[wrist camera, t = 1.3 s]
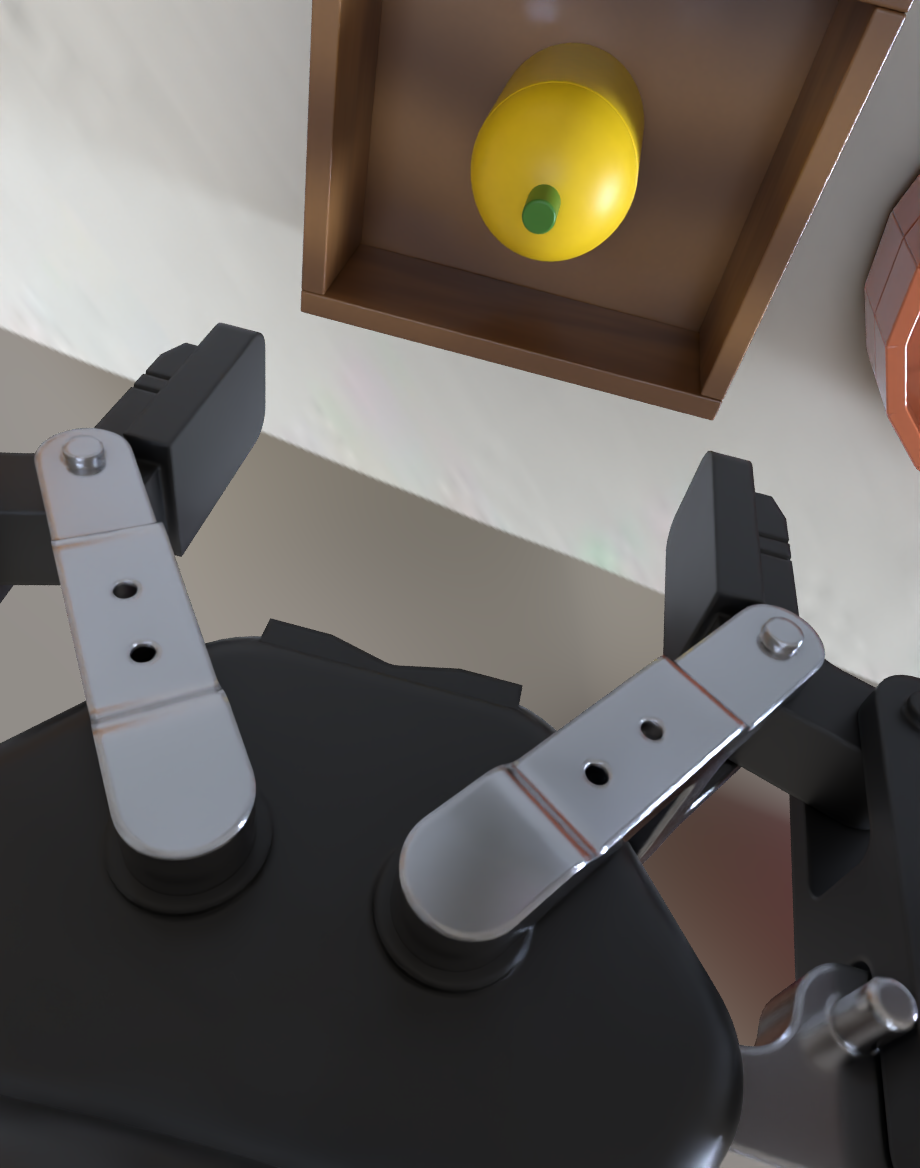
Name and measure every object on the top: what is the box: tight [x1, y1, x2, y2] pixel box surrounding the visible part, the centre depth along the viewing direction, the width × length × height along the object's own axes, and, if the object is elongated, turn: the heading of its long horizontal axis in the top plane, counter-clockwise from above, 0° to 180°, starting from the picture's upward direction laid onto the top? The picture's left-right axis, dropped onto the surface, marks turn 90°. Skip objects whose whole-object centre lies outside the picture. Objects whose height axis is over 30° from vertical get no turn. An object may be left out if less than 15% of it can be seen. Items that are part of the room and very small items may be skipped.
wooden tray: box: [301, 0, 914, 420], centre depth 25 cm, size 13×15×5 cm
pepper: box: [471, 43, 644, 262], centre depth 24 cm, size 5×5×8 cm
